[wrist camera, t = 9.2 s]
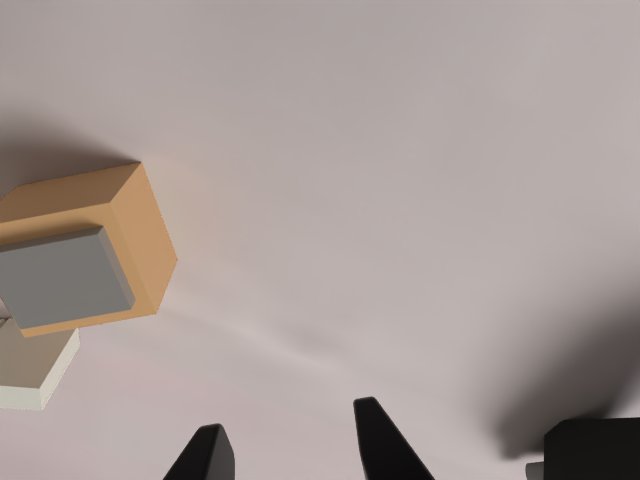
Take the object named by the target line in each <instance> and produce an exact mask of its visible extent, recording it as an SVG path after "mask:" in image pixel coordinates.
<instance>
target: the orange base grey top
mask: <svg viewBox="0 0 640 480" xmlns="http://www.w3.org/2000/svg"><path fill="white" fill-rule="evenodd" d="M177 260H178V259H177V256H176V253H175V251H174V248H173V245H172V242H171V240H170V237H169V234H168V232H167V229H166V226H165V224H164V221H163V218H162V215H161V213H160V210H159V207H158V205H157V202H156V199H155V196H154V194H153V191H152V188H151V186H150V183H149V180H148V178H147V175H146V172H145V169H144V167H143V164H142V162H139V163H134V164H129V165H124V166H119V167H113V168H108V169H103V170H98V171H92V172H87V173H82V174H77V175H72V176H66V177H61V178H56V179H51V180H46V181H40V182H35V183H30V184H25V185H20V186H18V187H16V188H15V189H14V190H13V191H11V192H10V193H9V194H7V195H6V196H5V197H4V198H2V199H1V200H0V297H1V299H2V301H3V302H4V304H5V306H6V308H7V309H8V311H9V313H10V314H11V316H12V318H13V319H14V321H15V323H16V324H17V326H18V328H19V329H20V331H21V333H22V334H23V336H24V338H25V337H31V336H36V335H42V334H48V333H53V332H59V331H64V330H70V329H75V328H81V327H86V326H92V325H97V324H103V323H108V322H114V321H119V320H125V319H131V318H136V317H142V316H147V315H153V314H157V311H158V309H159V306H160V304H161V301H162V299H163V296H164V293H165V291H166V288H167V286H168V283H169V281H170V278H171V276H172V273H173V271H174V268H175V266H176V263H177Z"/></svg>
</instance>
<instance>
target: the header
mask: <svg viewBox="0 0 640 480" xmlns="http://www.w3.org/2000/svg"><path fill="white" fill-rule="evenodd" d="M79 346H80V339H79V328H75V329H70V330H64V331H59V332H53V333H48V334H42V335H36V336H31V337H25V338H24V336H23V334H22V333H21V331H20V329H19V328H18V326H17V324H16V323H15V321H14V319H13V318H9V319H8V320H7V321H6V320H5V318H4V319H0V408H9V409H23V410H36V411H43V409H44V407H45V405H46V404H47V402H48V400H49V398H50V397H51V395H52V393H53V391H54V390H55V388H56V386H57V384H58V383H59V381H60V379H61V377H62V376H63V374H64V372H65V370H66V369H67V367H68V365H69V363H70V362H71V360H72V358H73V356H74V355H75V353H76V351H77V349H78V348H79Z"/></svg>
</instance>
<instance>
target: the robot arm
mask: <svg viewBox="0 0 640 480" xmlns="http://www.w3.org/2000/svg"><path fill="white" fill-rule="evenodd" d="M353 405H354V413H355V421H356V429H357V437H358V445H359V451H360V456H361V461H362V465H363V470H364V474H365V479H366V480H435V479H434V477H433V476H432V475H431V473H430V472H429V471H428V469H427V468H426V466H425V465H424V464H423V462H422V461H421V460H420V458H419V457H418V456H417V454H416V453H415V451H414V450H413V449H412V447H411V446H410V445H409V443H408V442H407V441H406V439H405V438H404V436H403V435H402V434H401V432H400V431H399V430H398V428H397V427H396V426H395V424H394V423H393V421H392V420H391V419H390V417H389V416H388V415H387V413H386V412H385V411H384V409H383V408H382V406H381V405H380V404H379V402H378V401H377V400H376V399H375V398H374V397H365V398H360V399H355V400H354V402H353ZM163 480H235V459H234V453H233V450H232V447H231V445H230V442H229V440H228V437H227V435H226V432H225V430H224V427H223V426H222V425H221V424H218V423H217V424H211V425H205V426H202V427H200V428H199V429H198V430H197V431H196V433H195V434H194V436H193V437H192V438H191V440H190V441H189V443H188V444H187V446H186V447H185V448H184V450H183V451H182V453H181V454H180V456H179V457H178V458H177V460H176V461H175V463H174V464H173V466H172V467H171V468H170V470H169V471H168V473H167V474H166V476H165V477H164V479H163Z"/></svg>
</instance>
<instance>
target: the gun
mask: <svg viewBox="0 0 640 480" xmlns="http://www.w3.org/2000/svg"><path fill="white" fill-rule="evenodd" d="M525 470H526V477H527V480H640V417H637V418H608V419H579V420H564V421H562V422H560V423H559V424H558V425H556V426H555V427H554V428H553V429H552V430H550V431H549V432H548V433H547V434H546V435H545V437H544V462H535V463H527V464H526V469H525Z"/></svg>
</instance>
